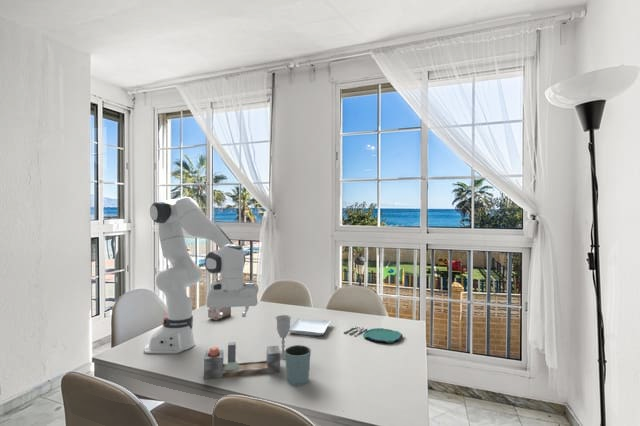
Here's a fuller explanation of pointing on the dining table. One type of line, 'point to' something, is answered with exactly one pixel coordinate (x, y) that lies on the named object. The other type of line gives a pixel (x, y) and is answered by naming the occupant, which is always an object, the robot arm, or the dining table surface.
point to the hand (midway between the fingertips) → (232, 317)
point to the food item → (224, 310)
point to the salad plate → (309, 326)
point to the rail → (242, 365)
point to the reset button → (214, 352)
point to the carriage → (231, 357)
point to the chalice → (283, 330)
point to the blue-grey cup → (297, 364)
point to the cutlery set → (380, 334)
